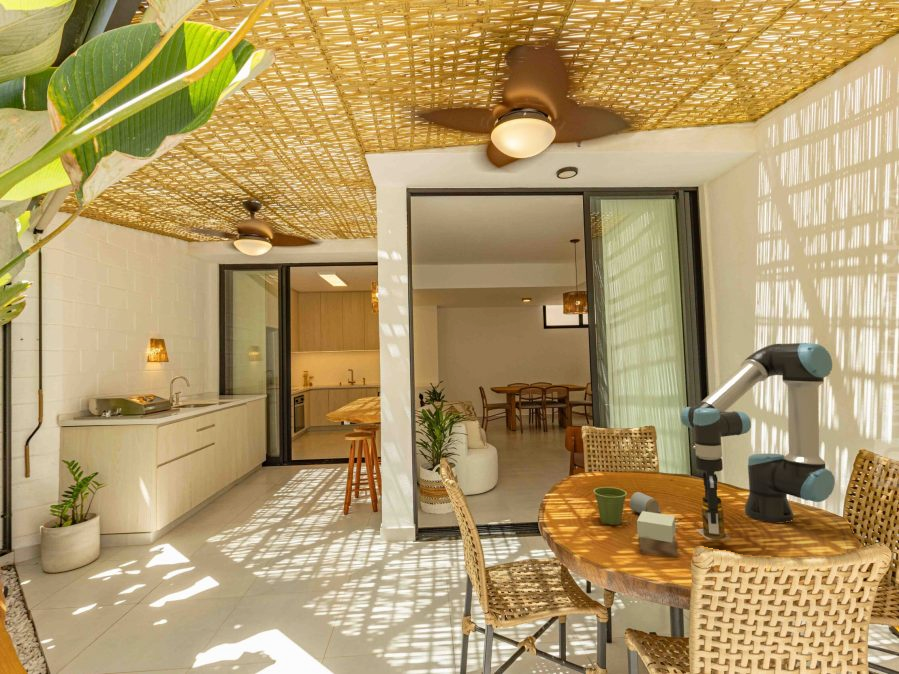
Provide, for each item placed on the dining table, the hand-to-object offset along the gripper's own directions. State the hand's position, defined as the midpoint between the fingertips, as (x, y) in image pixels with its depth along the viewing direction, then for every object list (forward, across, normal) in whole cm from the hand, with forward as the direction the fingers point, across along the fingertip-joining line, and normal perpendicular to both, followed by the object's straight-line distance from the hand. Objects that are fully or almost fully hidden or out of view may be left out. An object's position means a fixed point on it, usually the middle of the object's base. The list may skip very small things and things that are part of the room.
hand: (712, 528), depth 151 cm
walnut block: (+6, +7, -17) cm, 19 cm away
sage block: (+1, +7, -16) cm, 18 cm away
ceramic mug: (+6, -26, -20) cm, 34 cm away
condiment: (+2, -1, 0) cm, 2 cm away
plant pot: (+6, -12, -32) cm, 35 cm away
